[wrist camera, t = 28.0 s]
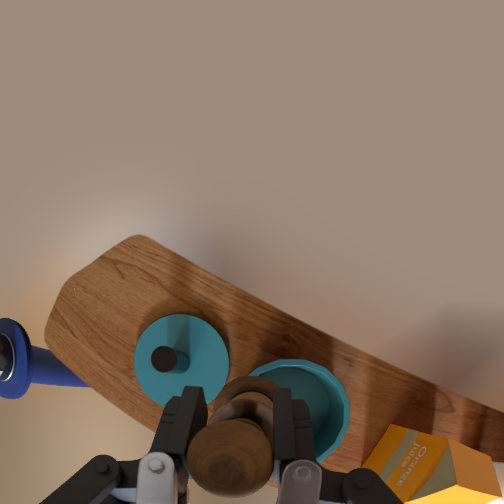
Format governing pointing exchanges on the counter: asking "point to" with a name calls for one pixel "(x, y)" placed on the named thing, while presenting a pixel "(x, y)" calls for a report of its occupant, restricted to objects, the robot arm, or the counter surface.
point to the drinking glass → (503, 476)
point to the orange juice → (433, 469)
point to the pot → (314, 399)
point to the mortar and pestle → (236, 440)
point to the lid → (180, 358)
